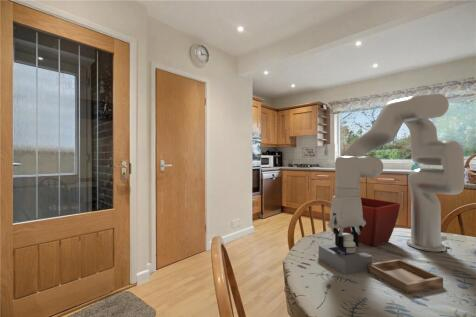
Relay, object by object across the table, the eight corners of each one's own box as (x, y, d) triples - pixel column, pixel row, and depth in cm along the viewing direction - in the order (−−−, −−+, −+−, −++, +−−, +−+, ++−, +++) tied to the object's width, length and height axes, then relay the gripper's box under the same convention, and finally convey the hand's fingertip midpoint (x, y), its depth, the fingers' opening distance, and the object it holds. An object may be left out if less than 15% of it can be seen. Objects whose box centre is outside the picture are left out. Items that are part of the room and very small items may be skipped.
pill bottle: (335, 260, 84) (335, 232, 84) (350, 259, 84) (350, 232, 84) (343, 267, 79) (343, 237, 79) (358, 266, 79) (359, 237, 79)
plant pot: (375, 251, 92) (375, 207, 92) (333, 237, 108) (333, 200, 108) (401, 242, 102) (401, 203, 102) (358, 231, 118) (358, 196, 118)
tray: (399, 266, 79) (399, 259, 79) (443, 286, 67) (443, 277, 67) (367, 272, 75) (367, 264, 75) (407, 294, 63) (407, 284, 63)
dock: (342, 254, 89) (343, 242, 89) (372, 270, 76) (372, 256, 76) (318, 258, 86) (318, 245, 86) (344, 274, 73) (344, 260, 73)
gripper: (359, 190, 88) (358, 240, 88) (318, 191, 83) (318, 244, 83) (376, 193, 80) (376, 247, 80) (333, 195, 75) (332, 253, 75)
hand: (346, 245), depth 81 cm, fingers closed on pill bottle, 5 cm apart
